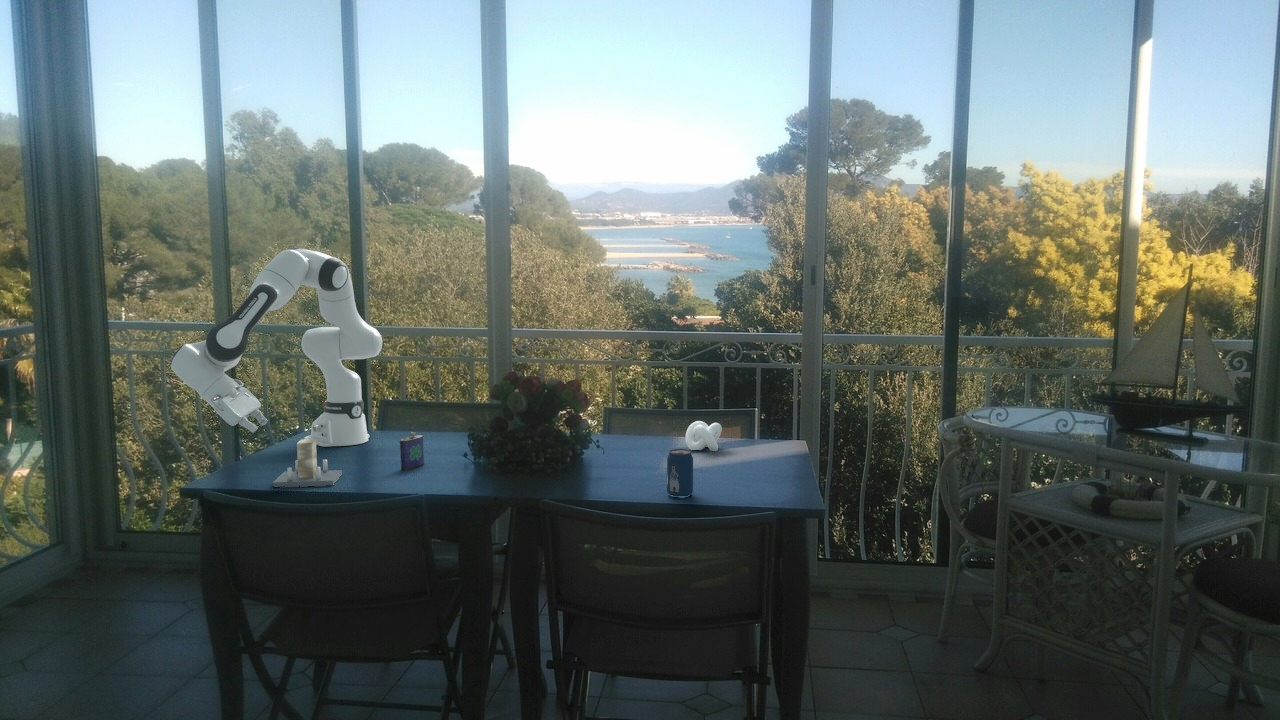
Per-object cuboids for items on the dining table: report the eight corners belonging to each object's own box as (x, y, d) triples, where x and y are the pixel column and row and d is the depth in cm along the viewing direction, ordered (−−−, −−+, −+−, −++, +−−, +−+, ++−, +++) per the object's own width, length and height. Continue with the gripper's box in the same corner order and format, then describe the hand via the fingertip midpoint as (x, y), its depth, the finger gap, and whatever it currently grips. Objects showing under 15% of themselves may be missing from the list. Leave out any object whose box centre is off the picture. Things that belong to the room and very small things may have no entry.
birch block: (298, 478, 257) (296, 443, 256) (302, 473, 262) (301, 439, 261) (313, 477, 258) (311, 442, 257) (317, 473, 263) (315, 439, 262)
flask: (419, 463, 282) (418, 428, 280) (427, 464, 280) (426, 429, 279) (398, 469, 273) (397, 434, 272) (406, 471, 272) (405, 435, 271)
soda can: (691, 491, 249) (692, 448, 248) (694, 499, 242) (694, 454, 241) (666, 492, 249) (666, 448, 247) (667, 499, 242) (667, 454, 241)
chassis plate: (273, 487, 253) (272, 469, 253) (284, 476, 265) (283, 459, 265) (333, 485, 255) (332, 468, 255) (341, 475, 267) (341, 458, 266)
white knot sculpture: (680, 452, 296) (680, 425, 295) (690, 444, 307) (690, 418, 306) (715, 455, 293) (715, 427, 291) (723, 447, 304) (723, 420, 303)
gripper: (217, 391, 245) (257, 426, 247) (241, 379, 265) (278, 412, 267) (200, 408, 245) (241, 443, 247) (226, 394, 265) (263, 427, 267)
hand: (260, 426), depth 257 cm, fingers open, 8 cm apart
